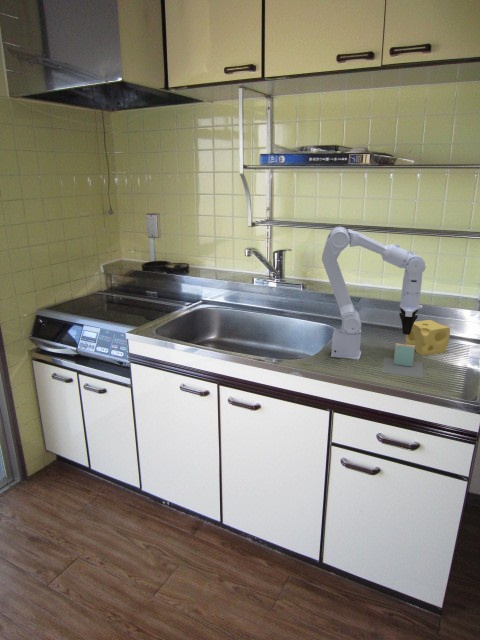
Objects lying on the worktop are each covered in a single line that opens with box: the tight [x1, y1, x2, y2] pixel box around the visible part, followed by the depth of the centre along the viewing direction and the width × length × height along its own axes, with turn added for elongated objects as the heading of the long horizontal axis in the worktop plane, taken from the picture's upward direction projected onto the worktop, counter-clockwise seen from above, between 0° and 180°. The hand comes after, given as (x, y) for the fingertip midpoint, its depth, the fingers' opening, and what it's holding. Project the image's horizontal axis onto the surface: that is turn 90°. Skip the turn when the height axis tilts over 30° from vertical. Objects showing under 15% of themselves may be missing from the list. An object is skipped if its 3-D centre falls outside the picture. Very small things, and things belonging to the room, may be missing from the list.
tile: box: [393, 342, 416, 367], centre depth 149 cm, size 6×1×7 cm, turn 70°
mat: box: [381, 357, 424, 379], centre depth 148 cm, size 12×13×1 cm
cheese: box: [405, 319, 451, 357], centre depth 162 cm, size 10×11×10 cm
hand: (406, 331), depth 153 cm, fingers open, 5 cm apart
